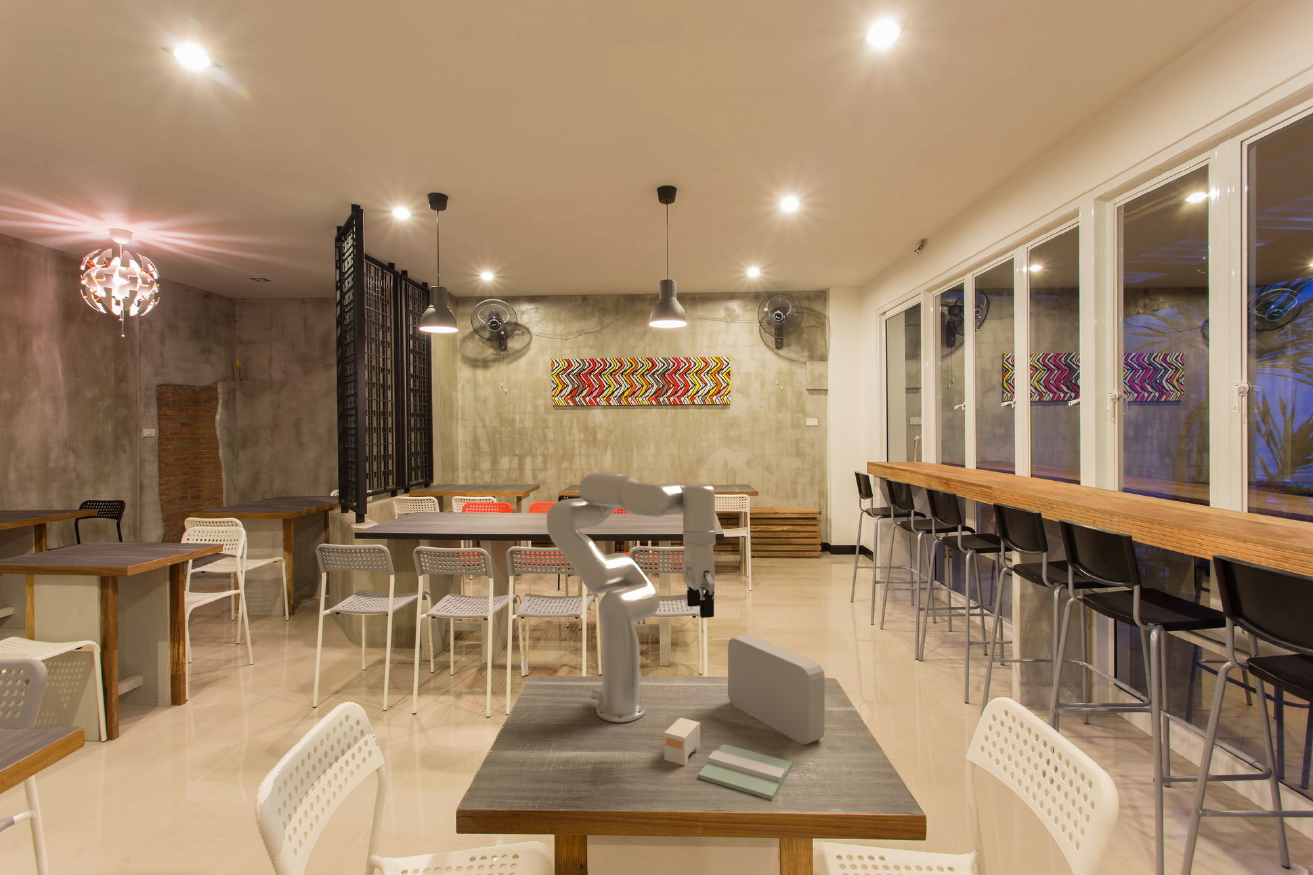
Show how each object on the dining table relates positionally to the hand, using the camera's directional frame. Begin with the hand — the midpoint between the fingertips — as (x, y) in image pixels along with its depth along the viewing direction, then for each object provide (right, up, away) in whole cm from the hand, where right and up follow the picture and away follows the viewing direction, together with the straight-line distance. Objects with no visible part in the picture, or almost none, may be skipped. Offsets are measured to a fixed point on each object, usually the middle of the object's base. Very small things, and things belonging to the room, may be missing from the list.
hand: (700, 611), depth 140 cm
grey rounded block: (+19, -31, +11) cm, 38 cm away
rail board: (+9, -30, -12) cm, 34 cm away
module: (-4, -30, -5) cm, 31 cm away
